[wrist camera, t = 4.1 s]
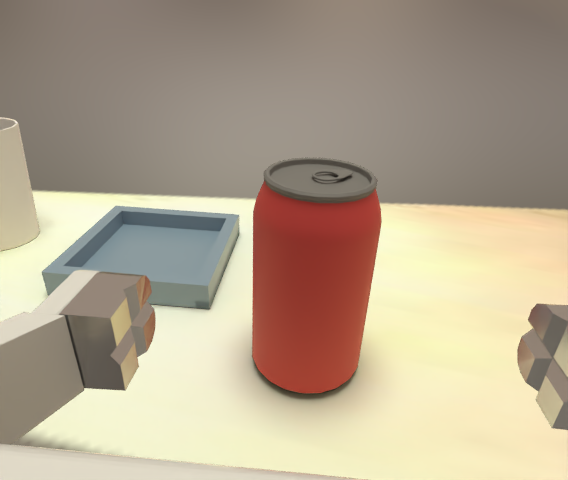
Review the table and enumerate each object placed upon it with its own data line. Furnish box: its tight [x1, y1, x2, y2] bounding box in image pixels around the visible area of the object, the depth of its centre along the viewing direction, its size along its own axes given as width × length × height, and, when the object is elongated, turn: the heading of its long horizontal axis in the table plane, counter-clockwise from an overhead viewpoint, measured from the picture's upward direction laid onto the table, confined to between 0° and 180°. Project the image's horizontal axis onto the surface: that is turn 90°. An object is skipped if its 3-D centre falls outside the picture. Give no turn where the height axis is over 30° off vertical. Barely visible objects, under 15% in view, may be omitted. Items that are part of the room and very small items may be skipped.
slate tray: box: [42, 206, 239, 309], centre depth 35 cm, size 12×12×2 cm
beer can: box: [252, 158, 381, 394], centre depth 23 cm, size 7×7×12 cm
